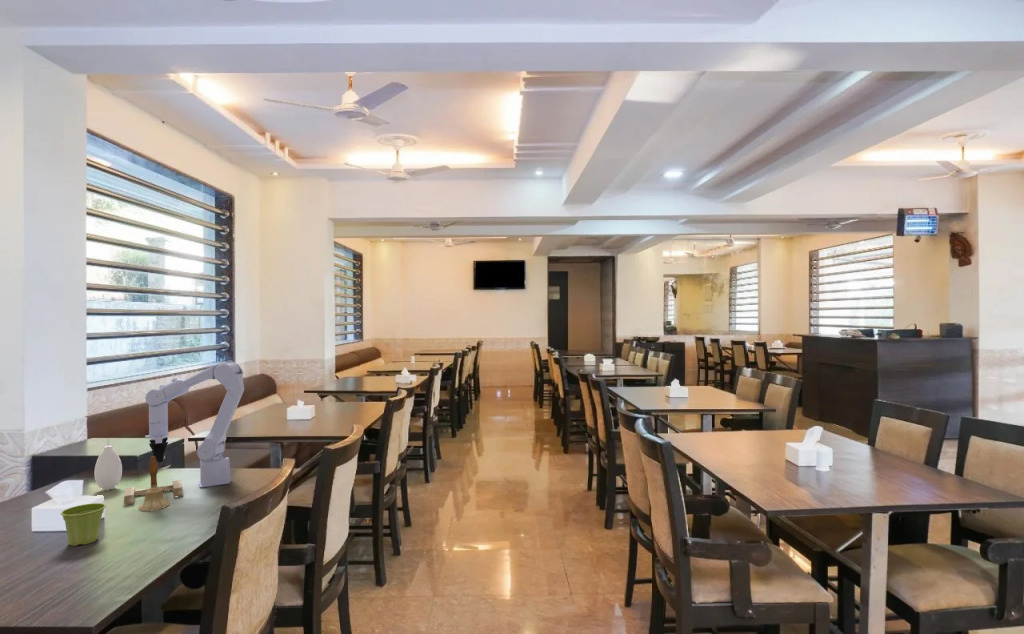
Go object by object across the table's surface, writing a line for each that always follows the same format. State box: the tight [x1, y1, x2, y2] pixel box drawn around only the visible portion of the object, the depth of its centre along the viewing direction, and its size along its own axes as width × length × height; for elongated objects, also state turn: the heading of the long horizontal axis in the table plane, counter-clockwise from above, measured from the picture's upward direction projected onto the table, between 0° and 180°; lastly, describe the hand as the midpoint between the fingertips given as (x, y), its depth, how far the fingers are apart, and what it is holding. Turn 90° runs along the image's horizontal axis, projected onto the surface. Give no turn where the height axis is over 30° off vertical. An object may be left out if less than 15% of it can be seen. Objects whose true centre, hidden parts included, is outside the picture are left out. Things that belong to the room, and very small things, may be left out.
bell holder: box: [123, 479, 184, 506], centre depth 183 cm, size 16×11×3 cm
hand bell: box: [138, 455, 171, 512], centre depth 173 cm, size 8×8×16 cm
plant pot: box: [60, 502, 107, 547], centre depth 144 cm, size 9×9×9 cm
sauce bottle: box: [93, 438, 123, 491], centre depth 193 cm, size 8×8×18 cm
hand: (158, 460), depth 196 cm, fingers open, 7 cm apart
